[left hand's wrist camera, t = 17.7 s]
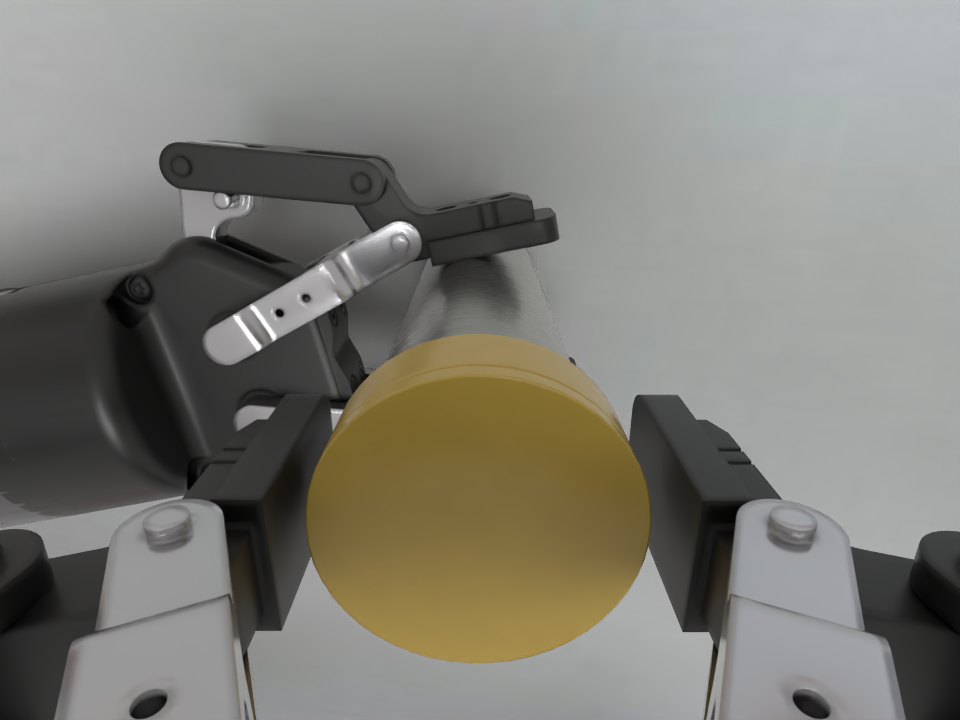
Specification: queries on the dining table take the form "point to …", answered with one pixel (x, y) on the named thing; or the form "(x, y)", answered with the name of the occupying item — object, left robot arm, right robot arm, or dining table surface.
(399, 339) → the silver metal cylinder
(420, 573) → the lid
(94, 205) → the dining table surface
